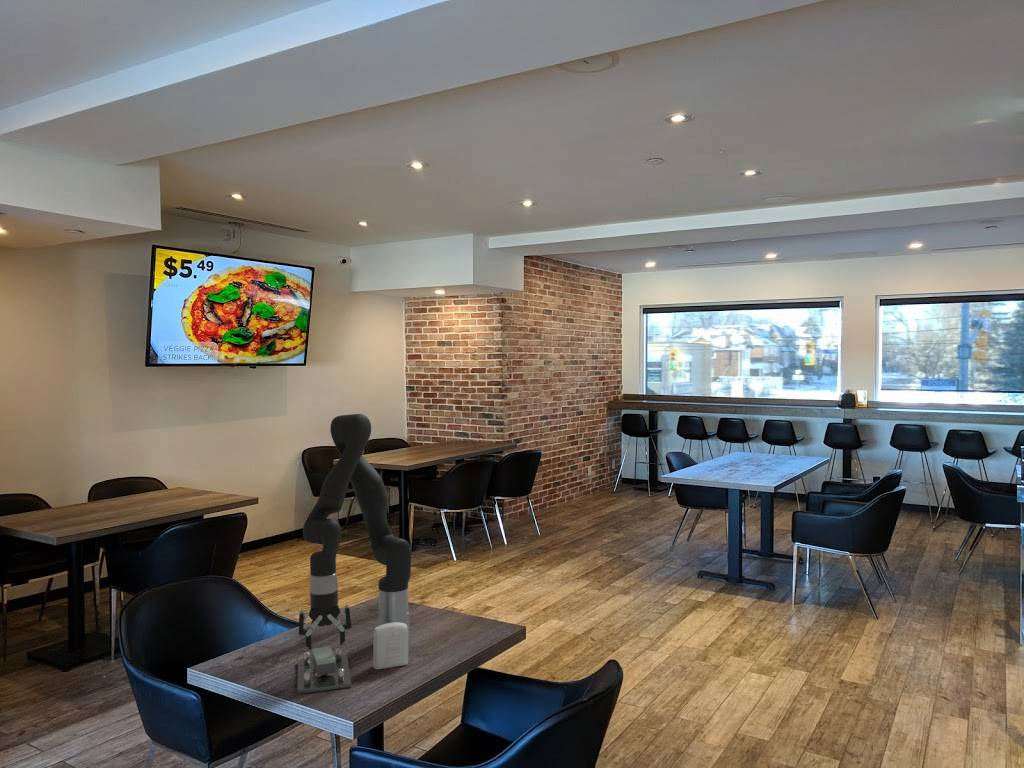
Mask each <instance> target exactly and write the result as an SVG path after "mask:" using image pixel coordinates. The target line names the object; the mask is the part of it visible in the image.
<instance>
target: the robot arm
mask: <svg viewBox="0 0 1024 768" xmlns="http://www.w3.org/2000/svg"><path fill="white" fill-rule="evenodd" d="M329 429H330V436H331V438H332V441H333V443H334V446H335V447H336V450H337V451H338V454H339V456H340V458H339V459H338V460H337V461H336V463H335V464H334V465H333V467H332V468H331V469H330V471H329V472H328V474H327V475H326V476H325V479H324V481H323V483H322V486H321V489H320V494H319V496H318V499H317V502H316V503H315V505H314V507H313V508H312V510H311V512H310V513H309V515H308V516H307V518H306V519H305V521H304V524H303V528H302V537H303V539H304V540H305V541H306V543H309V544H318V545H319V544H320V545H322V549H321V550H319V551H315V552H312V553H311V555H310V558H309V569H310V570H309V571H310V572H309V573H310V574H309V575H310V578H309V598H310V599H309V601H310V604H309V605H310V610H309V611H303V610H300V611H299V612H298V613H299V614H298V634H299V636H305V646H306V648H308V650H312V636H311V635H312V633H313V631H314V630H315V629H316V628H317V627H324V626H331V625H332V624H333V625H334V626H335V627H336V628H338V632H339V646H340V645H343V644H344V643H346V642H345V641H346V630H350V629H351V628H352V620H351V611H350V610H351V609H350V605H345V606H344V607H339V593H338V592H339V591H338V589H339V588H338V587H339V585H338V576H337V562H336V560H337V559H336V558H337V553H338V550H339V545H340V541H341V538H342V529H341V528H342V527H341V525H340V523H339V521H338V520H336V519H333V518H329V516H330V515H332V514H337V513H339V512H341V510H342V508H343V505H344V502H345V498H346V495H347V491H348V489H349V485H350V483H351V486H352V489H353V493H354V496H355V498H356V501H357V504H358V506H359V509H360V511H361V515H362V517H363V520H364V523H365V527H366V528H367V532H368V537H369V542H370V546H371V551H372V554H373V556H374V558H375V560H376V561H377V562H378V563H379V564H380V565H383V566H386V568H385V569H386V570H385V576H383V577H381V578H379V580H378V626H380V625H383V624H387V623H393V622H399V623H405V624H406V625H407V628H408V645H410V643H411V642H410V641H411V640H410V636H411V634H410V612H409V582H410V580H411V573H412V572H411V571H412V547H411V545H410V543H409V541H407V540H406V539H404V538H400V537H397V536H394V535H393V533H392V530H391V528H390V525H389V523H388V518H387V513H388V507H389V506H388V504H389V496H388V492H387V489H386V486H385V484H384V480H383V478H382V477H381V474H379V473H378V471H377V470H376V469H375V468H374V467H373V466H372V465H371V464H370V463H369V462H368V460H367V459H366V458H365V457H364V455H363V452H364V450H365V449H366V446H367V444H368V443H369V440H370V437H371V434H372V424H371V420H370V419H369V417H368V416H367V415H365V414H362V413H353V414H351V413H350V414H343V415H338V416H335V417H333V418H332V420H331V422H330V428H329ZM340 613H341V614H342V615H343V616H344V617H345V623H342V622H341V621H340V619H339V618H338V617H339V615H340ZM308 617H309V618H310V619H311V621H310V623H309V625H308V626H307V628H306V629H305V628H304V621H306V620H307V619H308Z"/></svg>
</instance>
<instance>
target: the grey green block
mask: <svg viewBox="0 0 1024 768" xmlns="http://www.w3.org/2000/svg"><path fill="white" fill-rule="evenodd" d="M311 653H312V659H313V665H314V668H315V671H316V673H317V676H319V675H325V674H332V673H335V662H336V661H335V657H334V656H335V655H334V652H333V650H332V648H331V645H329V646H322V647H316V648H311Z"/></svg>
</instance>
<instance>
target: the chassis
mask: <svg viewBox="0 0 1024 768" xmlns="http://www.w3.org/2000/svg"><path fill="white" fill-rule="evenodd" d="M334 657H335V661H336V662H335V673H332V674H325V675H319V676H317V673H316V671H315V668H314V665H313V658H311V652H310V651H305V652H304V653H303V659H298V660H297V689H296V690H297V695H300V694H307V693H309V694H310V693H315V692H325V691H333V690H340V689H347V688H352V678H351V674H350V666H349V660H348V655H347V654H342V648H340V647H338V648H335V655H334Z"/></svg>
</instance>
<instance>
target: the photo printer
mask: <svg viewBox="0 0 1024 768" xmlns="http://www.w3.org/2000/svg"><path fill="white" fill-rule="evenodd" d="M372 636H373V637H372V638H373V642H372V643H373V646H372V648H373V649H372V652H373V655H372V660H373V662H372V663H373V664H372V665H373V666H372V667H373V669H374V670H383V669H390V668H396V667H403V666H406V665H408V664H409V644H408V628H407V625H406V624H405V623H399V622H393V623H387V624H383V625H380V626H379V625H378V626H376V627H374V629H373V635H372Z"/></svg>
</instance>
